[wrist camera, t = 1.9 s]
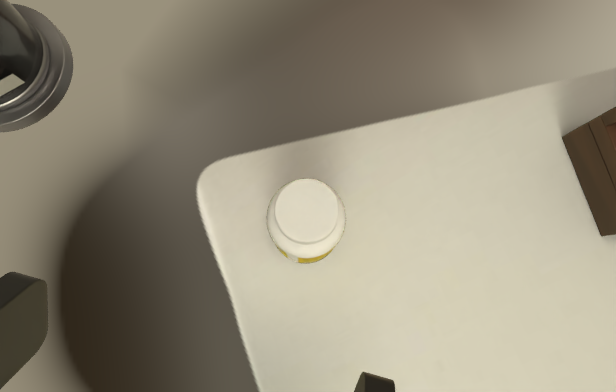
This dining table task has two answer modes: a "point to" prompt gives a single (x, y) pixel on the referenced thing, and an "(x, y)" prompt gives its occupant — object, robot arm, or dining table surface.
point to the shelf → (597, 167)
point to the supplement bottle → (306, 220)
